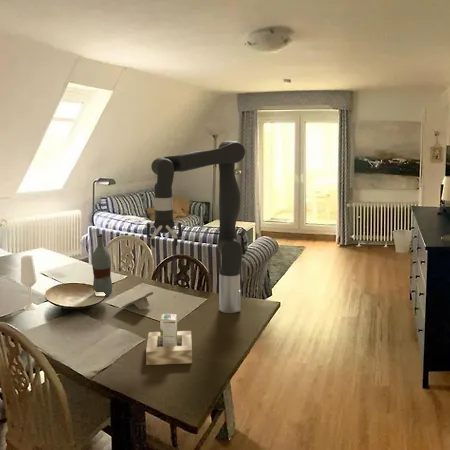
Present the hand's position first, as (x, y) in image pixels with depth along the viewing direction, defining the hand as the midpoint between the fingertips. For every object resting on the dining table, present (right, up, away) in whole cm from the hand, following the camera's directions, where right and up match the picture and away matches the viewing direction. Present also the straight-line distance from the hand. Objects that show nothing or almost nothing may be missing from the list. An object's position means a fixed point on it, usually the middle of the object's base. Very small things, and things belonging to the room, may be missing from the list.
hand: (164, 247), depth 200 cm
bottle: (-35, -25, +40) cm, 59 cm away
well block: (+4, -38, -20) cm, 43 cm away
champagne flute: (-64, -29, +23) cm, 74 cm away
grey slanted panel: (-16, -29, +22) cm, 40 cm away
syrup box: (+4, -39, -20) cm, 44 cm away
